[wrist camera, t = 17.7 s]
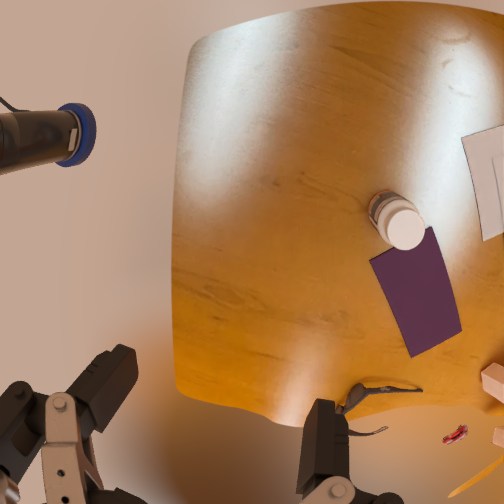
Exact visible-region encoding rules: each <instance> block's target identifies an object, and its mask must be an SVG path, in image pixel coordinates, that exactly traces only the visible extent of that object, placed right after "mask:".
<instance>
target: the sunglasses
mask: <svg viewBox="0 0 504 504" xmlns="http://www.w3.org/2000/svg"><path fill="white" fill-rule="evenodd" d="M393 392H423V390H421V389H416V390H409V389H400V388H396V387H392V386H386V387H380V388H366V387H364V386H363V384H361V383H359V384H357V385H356V386H354V387H353V388H352V389H351V391H350V392H349V394H348V396H347V399H346V403H345V405H344V407H343V406H341V405H339V406H338V407H337V409H336V411H335V413H337V414H343V415H345V414H346V413H347V412H348V411H350V410H351V409H353V408H354V407H355V406H356V405H357V404H358V403H360V402H361V401H362V400H363V399H364V398H365V397H366V396H368V395H369V394H378V393H393ZM387 428H388V427H382V428H381V429H379V430H377V431H375V432H372V433H358V432H355V431H353V430H349V435H350V436H369V435H373V434H376V433H378V432H381V431H383V430H385V429H387Z"/></svg>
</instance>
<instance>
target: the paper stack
mask: <svg viewBox="0 0 504 504" xmlns="http://www.w3.org/2000/svg"><path fill="white" fill-rule="evenodd" d="M461 139H462V142H463V145H464V149H465V152H466V156H467V159H468V163H469V167H470V171H471V175H472V180H473V184H474V189H475V194H476V199H477V204H478V210H479V216H480V222H481V229H482V237H483V241H485V240H488V239H490V238H492V237H494V236H496V235H499V234H501V233H503V232H504V125H502V126H499V127H496V128H492V129H489V130H486V131H482V132H479V133H476V134H472V135H469V136H466V137H463V138H461Z"/></svg>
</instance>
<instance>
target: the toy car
mask: <svg viewBox="0 0 504 504" xmlns="http://www.w3.org/2000/svg"><path fill="white" fill-rule="evenodd" d="M467 430H468V426H467V425H463V426H461V425H460V426H459V428H458V429H457V430H456V431H455V432H453V433H452V434H450V435H449V436H447V438H446V437H444V438H443V440H445V441H443V440H442V441H443V443H445V444H450V443H452V442H453V441H456V442H458V441H459V440H461V439H462V438H464V437H465V436H466V432H467ZM460 434H461V435H460Z"/></svg>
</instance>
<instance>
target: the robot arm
mask: <svg viewBox="0 0 504 504" xmlns="http://www.w3.org/2000/svg"><path fill="white" fill-rule="evenodd" d="M0 102H1V103H2V104H3V105H4V106H6V107H7V108H8V109H9V110H11V111H12V112H13V113H3V114H0V175H3V174H7V173H10V172H14V171H18V170H21V169H25V168H30V167H34V166H39V165H43V164H48V163H53V162H58V161H66V160H70V159H71V158H73V157H74V156H75V155H76V154H77V152H78V151H79V149H80V146H81V143H82V139H83V125H82V121H81V118H80V117H79V115H78V114H77V113H76V112H75V111H73V110H62V111H29V110H18V109H15V108H14V107H12V106H11V105H9V104H8V103H7V102H6V101H5V100H3V99H2V98H1V97H0ZM137 379H138V365H137V359H136V352H135V350H134V349H132V348H130V347H127V346H124V345H122V344H118V345H117V346H116V347H115V348H114V349H113V350H112V351H111V352H110V351H107V350H106V351H104V352H103V353H101V354H99V355H97V356H96V357H95V358H94V360H93V361H92V362H91V364H89V365H88V366H87V368H86V370H84V371H83V372H82V373H81V374H80V376H79V377H78V378H77V379H76V380H75V381H74V383H73V384H72V385H71V386H70V387H69V388H68V389H67V391H66V392H57V393H54V394H52V395H50V396H48V395H44V394H41V393H37V392H34V391H33V390H32V388H31V386H30V385H29V384H28V383H27V382H24V381H17V382H14V383H12V384H11V385H10V386H9V387H8V388H7V389H6V391H5V392H4V393H3V394H2V395H1V396H0V504H17V502H19V501H20V495H19V489H18V486H17V485H18V483H19V482H20V480H21V479H22V477H23V475H24V474H25V472H26V470H27V469H28V467H29V466H30V464H31V462H32V461H33V459H34V458H35V456H36V455H37V453H38V451H39V450H40V448H41V457H42V469H43V479H44V487H45V494H46V500H47V503H44V504H147V503H146V502H145V501H144V500H142V499H140V498H139V497H137V496H134V495H132V494H130V493H128V492H125V491H123V490H121V489H119V488H116V489H115V490H114V491H111V490H104V488H103V484H102V480H101V478H100V476H99V473H98V471H97V466H96V461H95V455H94V450H93V444H92V438H91V433H92V432H93V430H96V431H98V432H100V433H102V432H103V431H104V429H105V428H106V426H107V425H108V423H109V422H110V420H111V419H112V417H113V416H114V414H115V413H116V412H117V410H118V409H119V407H120V405H121V404H122V403H123V401H124V400H125V398H126V397H127V395H128V394H129V392H130V391H131V389H132V388H133V386H134V385H135V383H136V381H137ZM348 435H349V428H348V423H347V421H346V419H345V417H344V415H343V414H337V413H335V402H334V401H332V400H325V399H318V398H317V399H316V400H315V402H314V404H313V406H312V408H311V410H310V412H309V414H308V416H307V418H306V421H305V424H304V429H303V438H302V447H301V456H300V465H299V473H298V481H297V488H296V494H303V498H302V501H301V502H300V503H299V504H404V502H403V500H402V498H401V497H400V496H399V495H397V494H395V493H390V492H388V493H383V494H381V495H379V496H377V495H373V494H370V493H367V492H363V491H361V490H359V489H357V488H356V487H355V486H354V485H353V484H352V482H351V480H350V477H349V445H348V444H349V437H348ZM45 441H46V443H45V444H44V442H45Z"/></svg>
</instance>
